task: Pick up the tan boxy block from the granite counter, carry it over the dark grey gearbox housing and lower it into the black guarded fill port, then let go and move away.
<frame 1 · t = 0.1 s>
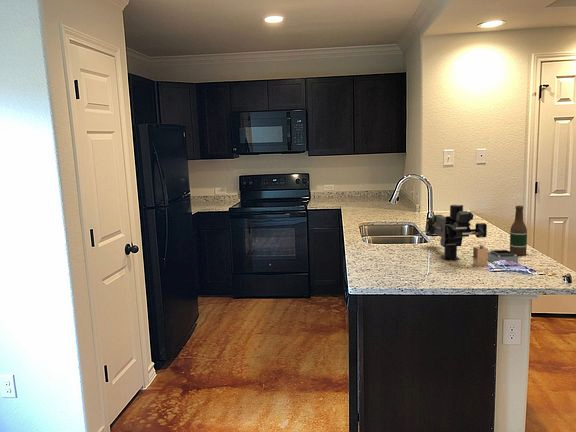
hand: (472, 234, 201), 17 cm above the worktop, tool horizontal, fingers open, 9 cm apart
beer bottle: (517, 254, 231), on the worktop
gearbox: (502, 262, 217), on the worktop
tan boxy block: (480, 264, 215), on the worktop
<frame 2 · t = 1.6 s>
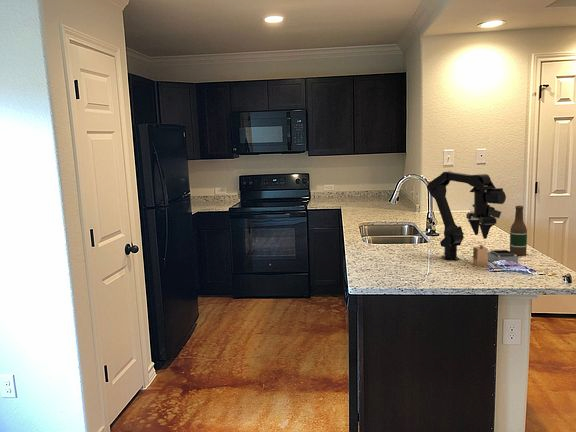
hand: (480, 236, 213), 13 cm above the worktop, tool pointing down, fingers open, 9 cm apart
nothing on the worktop moved.
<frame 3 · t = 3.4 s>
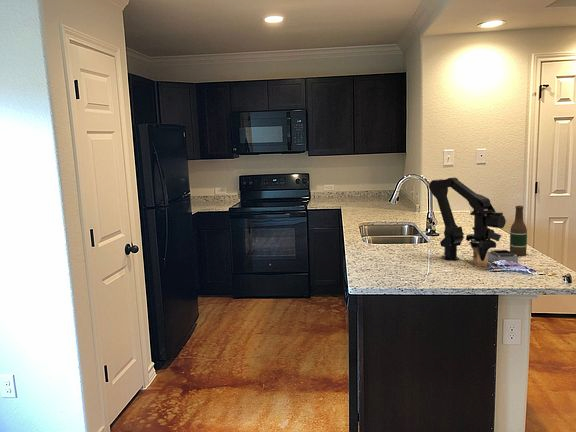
hand: (480, 259, 214), 3 cm above the worktop, tool pointing down, fingers closed on tan boxy block, 5 cm apart
tan boxy block: (480, 264, 215), on the worktop, touching gripper
everything else where it was.
when the fingers open (6 cm above the worktop, at t = 8.5 s): tan boxy block drops 3 cm, resting on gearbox.
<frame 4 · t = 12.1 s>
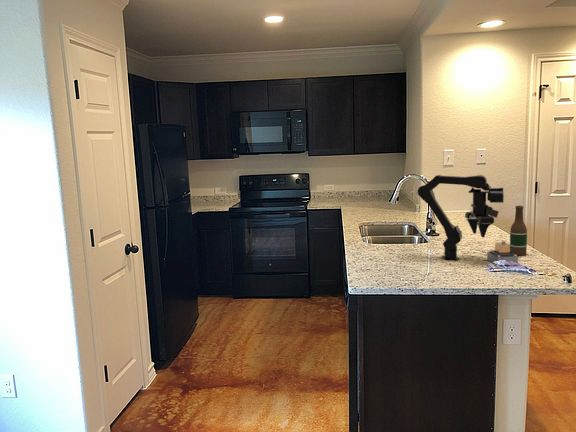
hand: (478, 235, 221), 12 cm above the worktop, tool pointing down, fingers open, 9 cm apart
tan boxy block: (502, 260, 217), point 1 cm above the worktop, touching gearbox
everything else where it was.
at the end: tan boxy block 0.0 cm off-centre on the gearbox, point 1.0 cm above the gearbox's base; tan boxy block tilted 0°; the gripper is holding nothing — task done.
